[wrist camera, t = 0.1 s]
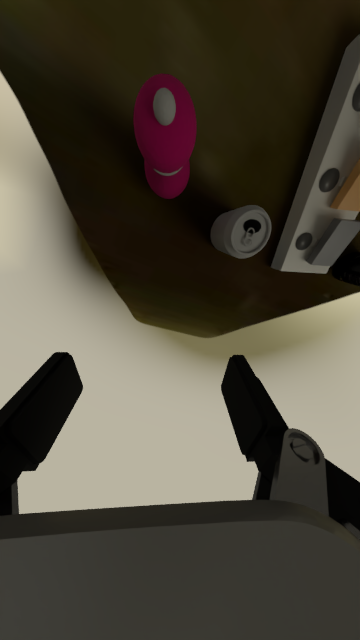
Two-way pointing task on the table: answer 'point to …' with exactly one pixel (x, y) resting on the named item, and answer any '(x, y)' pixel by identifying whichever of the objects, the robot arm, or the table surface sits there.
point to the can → (241, 231)
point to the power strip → (325, 170)
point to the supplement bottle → (348, 269)
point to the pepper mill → (165, 133)
